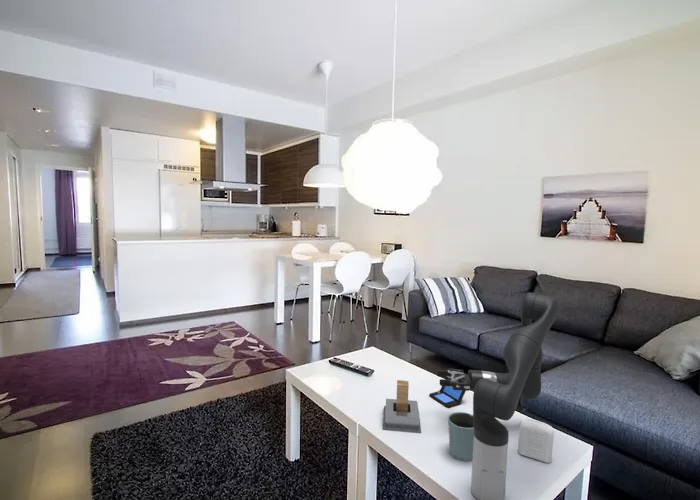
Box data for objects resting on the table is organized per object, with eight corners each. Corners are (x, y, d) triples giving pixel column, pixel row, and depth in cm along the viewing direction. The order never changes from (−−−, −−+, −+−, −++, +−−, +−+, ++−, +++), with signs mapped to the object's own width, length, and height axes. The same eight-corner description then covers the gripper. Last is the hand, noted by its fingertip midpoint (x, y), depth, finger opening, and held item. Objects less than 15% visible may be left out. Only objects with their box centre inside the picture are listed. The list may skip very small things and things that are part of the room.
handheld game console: (427, 396, 167) (428, 380, 166) (446, 391, 172) (447, 375, 171) (447, 409, 156) (448, 392, 155) (466, 403, 161) (467, 387, 160)
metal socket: (421, 433, 138) (421, 420, 137) (382, 429, 139) (383, 416, 139) (418, 410, 153) (418, 399, 153) (384, 408, 155) (384, 396, 155)
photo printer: (551, 457, 125) (554, 422, 124) (551, 465, 121) (554, 428, 120) (518, 448, 130) (520, 414, 129) (517, 454, 126) (519, 419, 125)
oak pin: (407, 420, 144) (408, 385, 143) (395, 419, 144) (396, 384, 143) (407, 414, 148) (408, 380, 147) (396, 413, 149) (397, 380, 148)
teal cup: (481, 451, 128) (483, 417, 127) (473, 467, 119) (475, 431, 118) (452, 440, 133) (453, 408, 132) (442, 455, 125) (443, 421, 124)
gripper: (478, 364, 148) (436, 361, 150) (487, 379, 134) (441, 375, 136) (477, 382, 148) (435, 379, 150) (486, 399, 134) (440, 395, 136)
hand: (438, 377), depth 143 cm, fingers open, 8 cm apart
